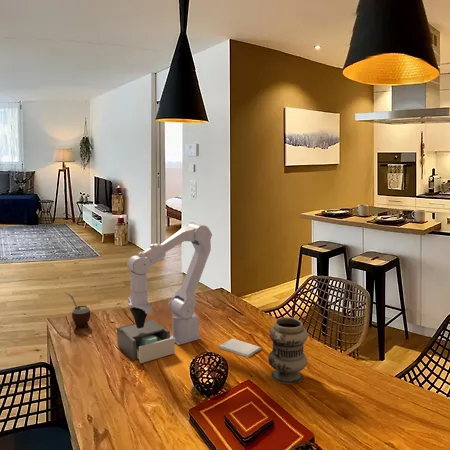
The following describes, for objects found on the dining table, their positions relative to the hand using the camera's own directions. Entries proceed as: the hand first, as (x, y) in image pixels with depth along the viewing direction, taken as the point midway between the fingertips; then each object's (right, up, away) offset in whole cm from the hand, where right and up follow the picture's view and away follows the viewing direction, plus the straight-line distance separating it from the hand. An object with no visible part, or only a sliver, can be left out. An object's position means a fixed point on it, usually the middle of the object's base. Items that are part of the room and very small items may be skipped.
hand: (140, 327), depth 157 cm
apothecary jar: (+49, -11, -18) cm, 54 cm away
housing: (+1, -8, +3) cm, 9 cm away
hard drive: (+35, -9, +2) cm, 37 cm away
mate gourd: (-28, -5, +23) cm, 37 cm away
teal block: (+3, -8, -1) cm, 8 cm away
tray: (+2, -8, +1) cm, 8 cm away
